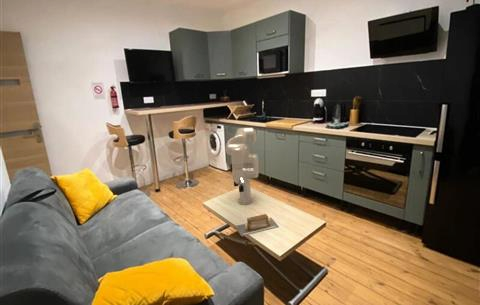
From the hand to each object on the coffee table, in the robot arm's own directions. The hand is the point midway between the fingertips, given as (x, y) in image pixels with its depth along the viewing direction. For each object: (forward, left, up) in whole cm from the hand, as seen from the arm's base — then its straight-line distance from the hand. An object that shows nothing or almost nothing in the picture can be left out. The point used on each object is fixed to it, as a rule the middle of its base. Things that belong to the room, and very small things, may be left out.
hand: (238, 188), depth 162 cm
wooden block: (+8, +10, -28) cm, 31 cm away
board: (+6, +10, -29) cm, 31 cm away
